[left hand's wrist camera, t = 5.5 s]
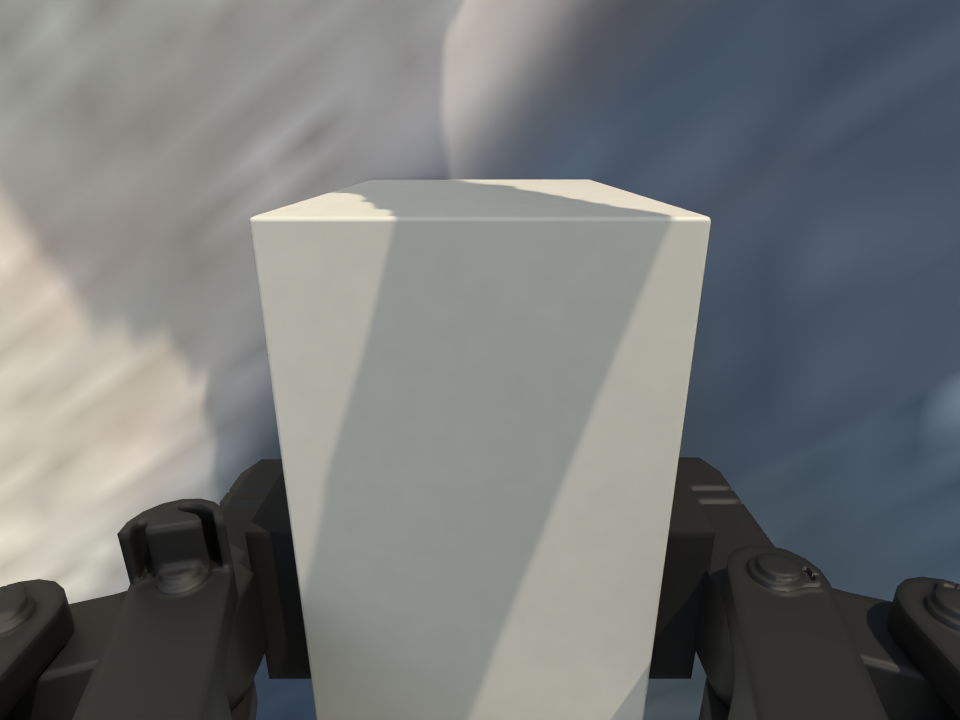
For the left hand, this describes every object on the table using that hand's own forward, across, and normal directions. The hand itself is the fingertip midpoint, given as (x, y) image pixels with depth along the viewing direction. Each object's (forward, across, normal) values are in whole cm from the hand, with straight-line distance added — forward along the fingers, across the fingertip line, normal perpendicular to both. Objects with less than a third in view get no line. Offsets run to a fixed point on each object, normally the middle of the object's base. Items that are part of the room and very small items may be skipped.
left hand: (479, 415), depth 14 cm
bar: (+1, 0, -33) cm, 33 cm away
